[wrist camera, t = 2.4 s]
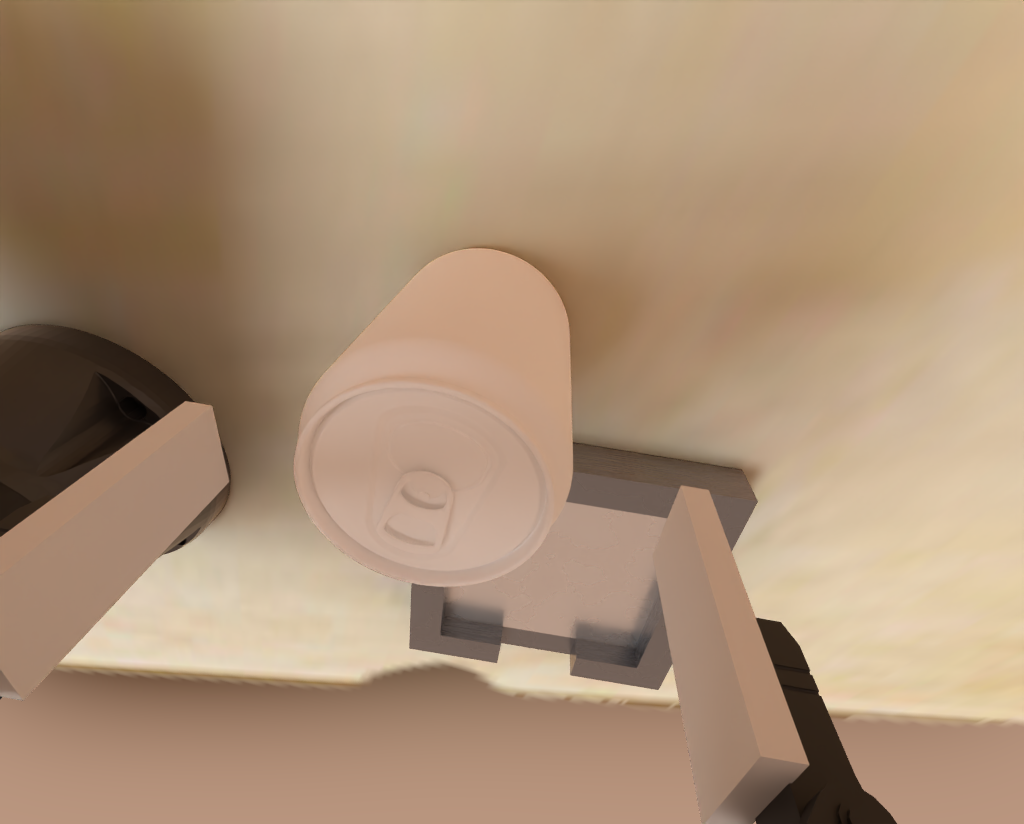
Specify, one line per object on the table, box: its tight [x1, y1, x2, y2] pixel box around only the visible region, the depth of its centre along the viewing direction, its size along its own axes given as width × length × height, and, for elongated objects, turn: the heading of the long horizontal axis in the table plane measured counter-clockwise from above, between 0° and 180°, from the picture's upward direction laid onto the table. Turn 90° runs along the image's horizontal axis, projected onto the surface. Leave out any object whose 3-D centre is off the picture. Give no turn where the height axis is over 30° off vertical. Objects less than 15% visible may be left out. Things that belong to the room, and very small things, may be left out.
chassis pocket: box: [409, 443, 758, 690], centre depth 30 cm, size 17×17×2 cm
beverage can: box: [294, 248, 573, 587], centre depth 18 cm, size 8×8×12 cm
